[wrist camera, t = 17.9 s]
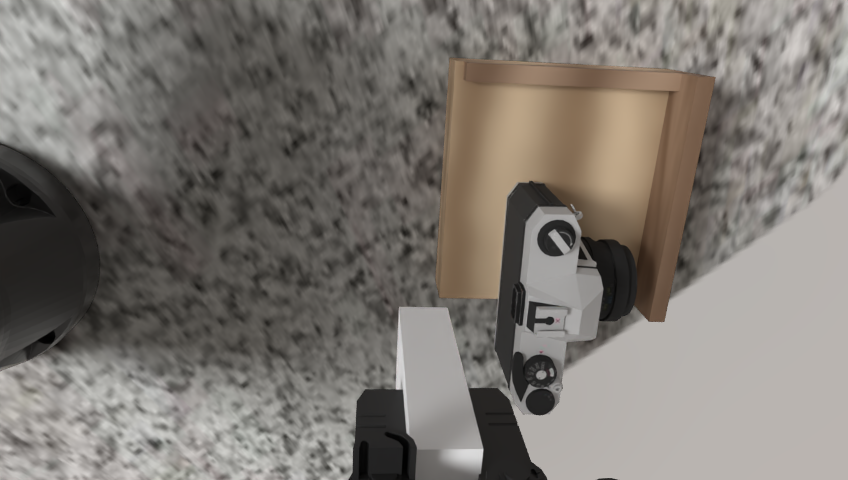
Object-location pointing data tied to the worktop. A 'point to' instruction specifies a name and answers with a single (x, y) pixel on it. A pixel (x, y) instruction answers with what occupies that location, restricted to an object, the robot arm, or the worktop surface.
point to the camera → (552, 292)
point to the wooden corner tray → (569, 163)
